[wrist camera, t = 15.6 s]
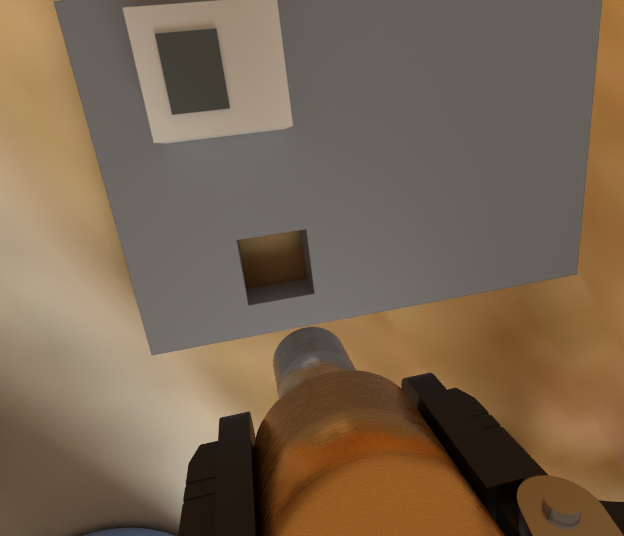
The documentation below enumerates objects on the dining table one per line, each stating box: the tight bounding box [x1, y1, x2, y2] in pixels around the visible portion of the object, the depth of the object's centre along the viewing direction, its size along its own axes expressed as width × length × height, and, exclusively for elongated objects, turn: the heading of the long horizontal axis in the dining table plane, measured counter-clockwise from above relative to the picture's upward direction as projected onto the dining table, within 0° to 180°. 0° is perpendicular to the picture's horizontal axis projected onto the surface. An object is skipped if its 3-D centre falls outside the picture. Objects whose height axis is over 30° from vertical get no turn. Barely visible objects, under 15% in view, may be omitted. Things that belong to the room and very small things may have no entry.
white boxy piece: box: [123, 0, 293, 143], centre depth 18 cm, size 6×5×4 cm
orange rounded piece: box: [254, 327, 505, 536], centre depth 9 cm, size 4×4×8 cm
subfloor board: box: [54, 0, 602, 355], centre depth 24 cm, size 28×18×3 cm, turn 97°
